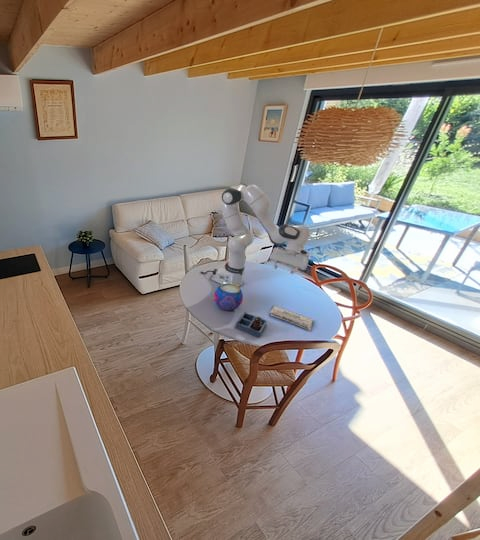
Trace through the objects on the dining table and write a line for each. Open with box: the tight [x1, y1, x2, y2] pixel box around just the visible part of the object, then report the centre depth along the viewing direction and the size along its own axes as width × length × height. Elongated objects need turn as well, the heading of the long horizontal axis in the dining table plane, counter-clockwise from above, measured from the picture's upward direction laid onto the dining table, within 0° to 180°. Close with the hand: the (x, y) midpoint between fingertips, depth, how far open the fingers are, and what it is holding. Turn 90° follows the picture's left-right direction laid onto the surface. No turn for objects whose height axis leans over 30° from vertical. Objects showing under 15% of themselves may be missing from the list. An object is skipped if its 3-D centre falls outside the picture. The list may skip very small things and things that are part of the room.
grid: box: [235, 311, 268, 338], centre depth 169 cm, size 13×13×4 cm
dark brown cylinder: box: [252, 316, 262, 331], centre depth 163 cm, size 4×4×10 cm
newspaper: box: [269, 305, 314, 331], centre depth 176 cm, size 23×12×2 cm, turn 48°
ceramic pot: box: [213, 283, 244, 311], centre depth 184 cm, size 18×18×15 cm
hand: (283, 270), depth 169 cm, fingers open, 8 cm apart
